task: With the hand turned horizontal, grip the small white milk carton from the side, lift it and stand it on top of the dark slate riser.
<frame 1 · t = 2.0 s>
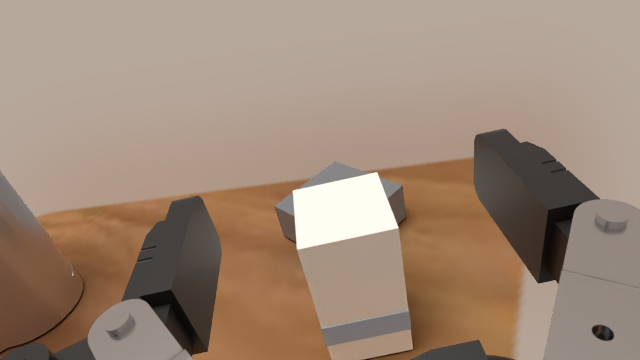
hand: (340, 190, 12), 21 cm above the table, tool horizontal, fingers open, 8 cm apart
milk carton: (365, 323, 33), on the table
slate riser: (343, 226, 43), on the table
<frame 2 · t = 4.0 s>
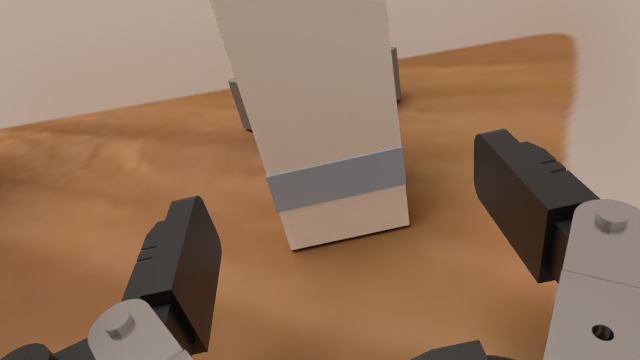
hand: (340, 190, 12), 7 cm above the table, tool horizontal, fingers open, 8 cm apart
milk carton: (341, 202, 23), on the table
slate riser: (320, 113, 33), on the table
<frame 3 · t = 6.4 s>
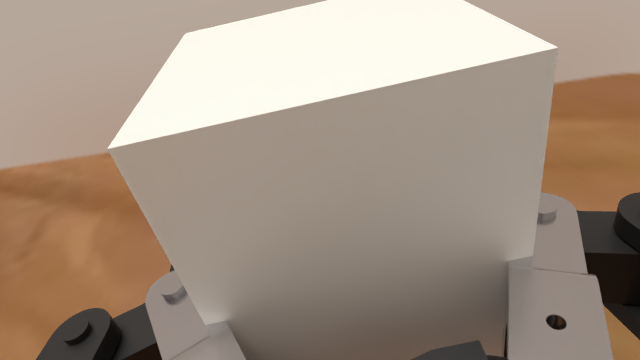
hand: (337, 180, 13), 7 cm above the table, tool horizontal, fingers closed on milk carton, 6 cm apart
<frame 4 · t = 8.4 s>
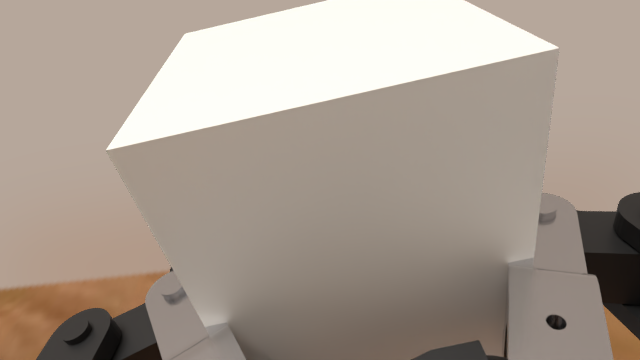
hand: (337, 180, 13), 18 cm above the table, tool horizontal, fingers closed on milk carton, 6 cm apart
when the fingers open (12 cm above the table, at t = 10.8 s): milk carton drops 1 cm, resting on slate riser.
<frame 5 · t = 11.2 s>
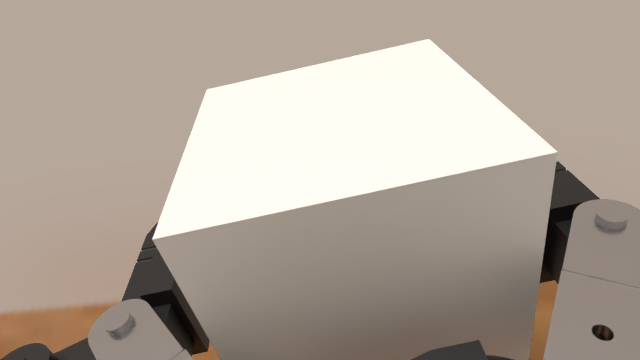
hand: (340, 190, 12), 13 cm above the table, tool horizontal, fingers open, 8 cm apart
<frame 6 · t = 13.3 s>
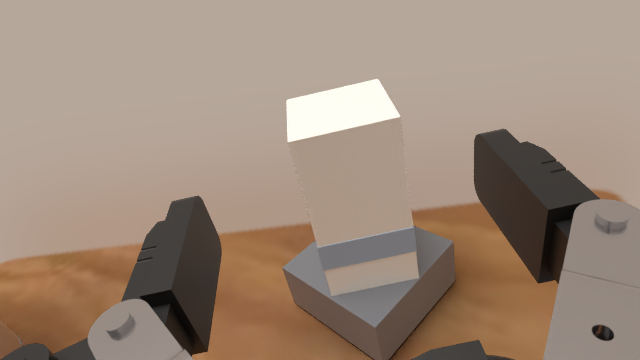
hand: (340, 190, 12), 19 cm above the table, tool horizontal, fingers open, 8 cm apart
milk carton: (367, 256, 31), point 4 cm above the table, touching slate riser
slate riser: (373, 291, 33), on the table
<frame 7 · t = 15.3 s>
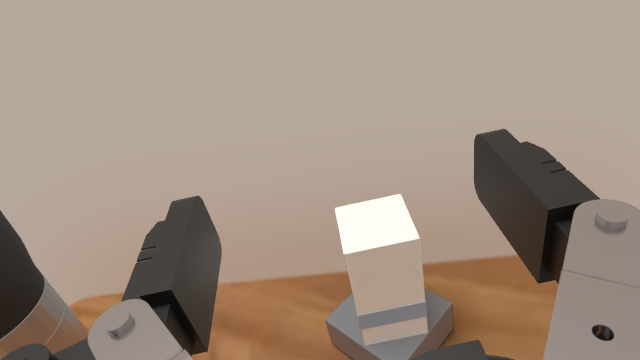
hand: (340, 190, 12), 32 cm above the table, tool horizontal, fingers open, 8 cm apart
milk carton: (389, 313, 42), point 4 cm above the table, touching slate riser
slate riser: (391, 336, 44), on the table
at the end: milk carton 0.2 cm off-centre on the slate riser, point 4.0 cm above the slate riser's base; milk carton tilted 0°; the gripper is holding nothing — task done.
